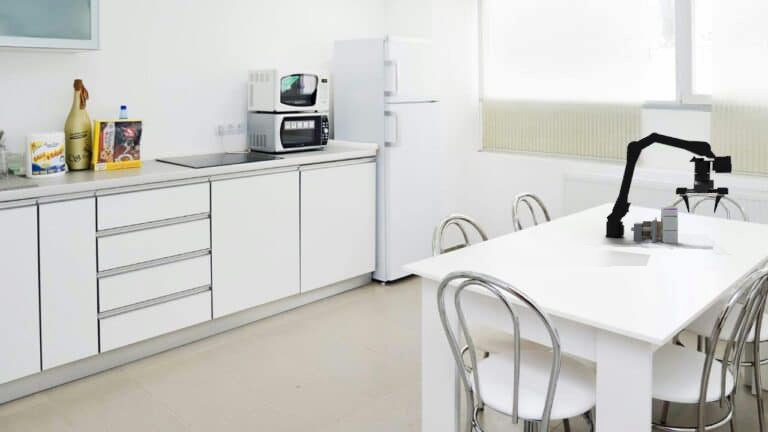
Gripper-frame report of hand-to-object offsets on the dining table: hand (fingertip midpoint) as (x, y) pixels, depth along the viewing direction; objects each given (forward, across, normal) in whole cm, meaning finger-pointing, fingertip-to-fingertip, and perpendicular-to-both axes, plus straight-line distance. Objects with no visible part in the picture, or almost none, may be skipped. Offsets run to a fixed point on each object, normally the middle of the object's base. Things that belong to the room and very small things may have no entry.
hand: (701, 212), depth 266 cm
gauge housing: (+12, -18, -2) cm, 22 cm away
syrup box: (+12, -12, -2) cm, 17 cm away
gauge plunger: (+12, -20, -2) cm, 23 cm away
